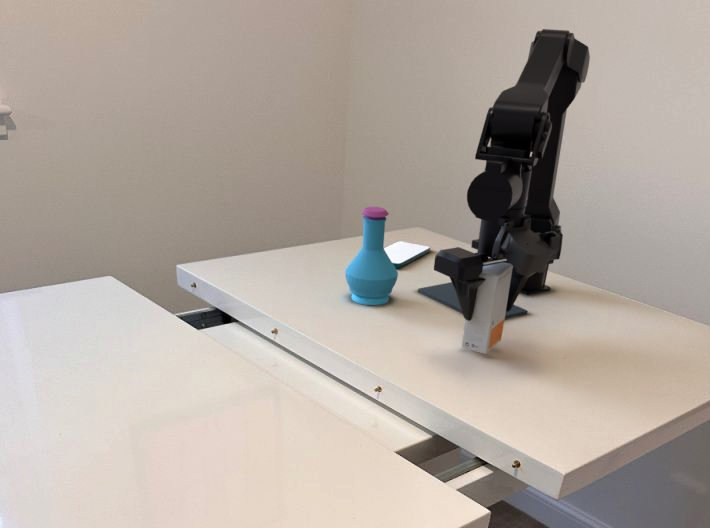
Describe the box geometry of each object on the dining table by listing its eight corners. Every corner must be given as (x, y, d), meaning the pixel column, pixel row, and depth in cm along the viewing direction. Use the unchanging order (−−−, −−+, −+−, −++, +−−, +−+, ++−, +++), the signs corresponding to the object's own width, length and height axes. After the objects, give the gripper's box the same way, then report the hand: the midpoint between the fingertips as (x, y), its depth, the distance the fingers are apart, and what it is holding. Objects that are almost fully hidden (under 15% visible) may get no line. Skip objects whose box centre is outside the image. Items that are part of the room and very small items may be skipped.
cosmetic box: (486, 355, 107) (497, 276, 100) (460, 348, 109) (469, 270, 102) (502, 340, 111) (514, 263, 104) (477, 334, 113) (487, 257, 106)
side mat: (458, 283, 136) (459, 280, 136) (527, 313, 124) (527, 310, 124) (417, 291, 131) (418, 288, 131) (484, 324, 120) (485, 320, 119)
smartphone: (398, 245, 156) (363, 261, 144) (398, 240, 155) (364, 257, 144) (431, 251, 153) (399, 269, 141) (432, 247, 152) (399, 264, 141)
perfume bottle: (376, 311, 122) (381, 219, 113) (333, 298, 126) (336, 208, 118) (406, 298, 128) (413, 209, 119) (364, 286, 133) (369, 200, 124)
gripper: (495, 226, 88) (477, 346, 98) (595, 211, 97) (570, 322, 106) (437, 206, 96) (425, 319, 105) (535, 194, 105) (517, 299, 114)
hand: (487, 315), depth 107 cm, fingers closed on cosmetic box, 7 cm apart
